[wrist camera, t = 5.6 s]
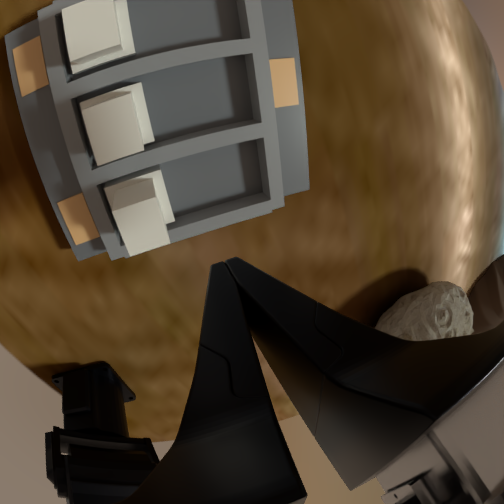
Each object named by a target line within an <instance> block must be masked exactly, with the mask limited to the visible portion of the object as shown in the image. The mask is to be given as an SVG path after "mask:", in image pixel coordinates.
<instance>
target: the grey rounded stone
mask: <svg viewBox="0 0 504 504" xmlns="http://www.w3.org/2000/svg"><path fill="white" fill-rule="evenodd" d="M473 314H474V313H473V311H472V308H471V305H470V303H469V301H468V298H467V295H466V294H465V292H464V291H463V289H462V288H461V287H459V286H456V285H455V284H453V283H451V282H447V281H441V282H440V281H438V282H432V283H430V284H429V285H428V286H427V287H425V288H422V289H420V290H417V291H415V292H411V293H409V294H406V295H404V296H402V297H401V298H399V299H398V300H397V301H396V302H395V304H394V305H393V306H392V307H391V308H389V309H388V310H387V311H386V312H384V313H383V314H382V316H381V317H380V319H379V321H378V323H377V325H376V327H375V329H378V330H380V331H383V332H385V333H388V334H390V335H393V336H395V337H398V338H401V339H405V340H411V341H424V340H433V339H442V338H450V337H457V336H464V335H471V334H472V333H473V332H474V330H473V328H472V326H473Z"/></svg>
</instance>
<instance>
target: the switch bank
mask: <svg viewBox="0 0 504 504" xmlns="http://www.w3.org/2000/svg"><path fill="white" fill-rule="evenodd" d="M82 1H85V0H55V1H53V4H52V5H49V6H47V7H45V8H43V9H41V10H39V11H37V12H38V18H37V19H35V20H33V21H31V22H29V23H27V24H25V25H23V26H21V27H19V28H18V29H16V30H14V31H12V32H10V33H8V34H7V35H5V43H6V50H7V56H8V62H9V68H10V73H11V78H12V83H13V87H14V92H15V96H16V100H17V104H18V108H19V112H20V116H21V119H22V123H23V126H24V130H25V133H26V136H27V139H28V143H29V146H30V149H31V152H32V155H33V158H34V161H35V163H36V166H37V169H38V172H39V174H40V177H41V180H42V182H43V185H44V187H45V190H46V192H47V195H48V197H49V200H50V202H51V204H52V207H53V209H54V211H55V214H56V216H57V218H58V220H59V223H60V225H61V227H62V229H63V231H64V233H65V236H66V238H67V240H68V242H69V244H70V246H71V248H72V250H73V252H74V254H75V256H76V258H77V260H78V261H80V260H83V259H86V258H89V257H92V256H94V255H97V254H100V253H103V252H106V251H107V252H108V254H109V256H110V258H111V260H115V259H118V258H121V257H124V256H125V258H128V257H131V256H130V255H129V253H128V250H127V248H126V246H125V243H124V241H123V238H122V236H121V233H120V231H119V228H118V226H117V223H116V221H115V218H114V216H113V213H112V209H111V207H110V204H109V201H108V198H107V196H106V193H105V190H104V187H105V183H106V182H107V181H110V180H113V179H115V178H118V177H121V176H124V175H127V174H130V173H133V172H136V171H139V170H142V169H145V168H148V167H152V166H155V165H158V164H159V165H160V169H161V173H162V176H163V180H164V184H165V187H166V191H167V195H168V198H169V202H170V205H171V209H172V212H173V215H174V219H175V221H174V222H171V223H168V224H166V227H167V231H168V235H169V239H170V244H171V243H174V242H177V241H180V240H183V239H186V238H189V237H192V236H196V235H199V234H202V233H205V232H208V231H212V230H215V229H218V228H221V227H224V226H228V225H231V224H234V223H238V222H241V221H244V220H248V219H251V218H254V217H258V216H261V215H264V214H268V213H271V212H272V210H273V209H277V208H280V207H284V196H286V195H290V194H294V193H297V192H301V191H305V190H308V189H309V170H308V152H307V136H306V122H305V109H304V98H303V87H302V76H301V67H300V57H299V49H298V40H297V32H296V25H295V17H294V10H293V3H292V0H127V7H128V13H129V20H130V26H131V31H132V37H133V43H134V48H135V55H132V56H128V57H125V58H122V59H119V60H115V61H112V62H109V63H106V64H103V65H100V66H97V67H95V68H92V69H89V70H86V71H84V72H81V73H79V74H73V73H72V68H71V63H70V59H69V54H68V49H67V43H66V37H65V31H64V24H63V17H62V10H61V9H64V8H66V7H69V6H71V5H74V4H77V3H79V2H82ZM114 1H115V0H114ZM139 82H141V83H142V88H143V93H144V97H145V102H146V106H147V111H148V115H149V119H150V123H151V128H152V132H153V136H154V140H155V141H153V142H150V143H147V144H144V150H143V151H140V152H137V153H134V154H131V155H128V156H125V157H122V158H119V159H116V160H113V161H111V162H108V163H105V164H102V165H99V166H97V163H96V159H95V156H94V153H93V150H92V147H91V143H90V140H89V137H88V133H87V130H86V126H85V123H84V119H83V115H82V111H81V107H80V103H81V102H83V101H86V100H88V99H91V98H94V97H96V96H99V95H102V94H105V93H108V92H110V91H113V90H117V89H120V88H123V87H126V86H129V85H132V84H136V83H139ZM163 246H164V245H163ZM160 247H161V246H160ZM157 248H158V247H157ZM154 249H155V248H154ZM151 250H152V249H151ZM148 251H149V250H148ZM145 252H146V251H145ZM142 253H143V252H142ZM139 254H140V253H139ZM136 255H137V254H136ZM133 256H134V255H133Z"/></svg>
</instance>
